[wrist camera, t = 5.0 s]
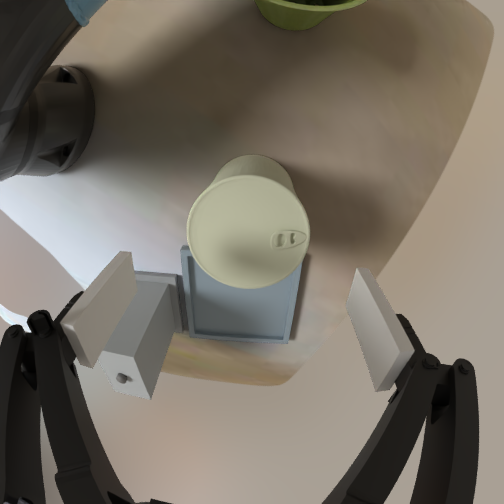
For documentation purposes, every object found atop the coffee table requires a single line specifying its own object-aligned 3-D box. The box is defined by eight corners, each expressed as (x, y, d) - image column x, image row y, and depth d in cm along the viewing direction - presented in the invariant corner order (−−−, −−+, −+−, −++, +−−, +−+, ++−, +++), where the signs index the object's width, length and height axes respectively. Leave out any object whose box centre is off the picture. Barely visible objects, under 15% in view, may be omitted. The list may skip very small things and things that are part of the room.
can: (292, 233, 32) (307, 292, 21) (214, 233, 32) (192, 293, 22) (294, 154, 28) (315, 175, 17) (208, 156, 28) (176, 179, 17)
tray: (182, 245, 33) (180, 249, 32) (301, 252, 33) (302, 256, 32) (191, 331, 40) (189, 337, 39) (287, 338, 40) (287, 343, 39)
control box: (129, 270, 35) (79, 343, 22) (176, 274, 35) (138, 356, 22) (142, 324, 40) (108, 397, 27) (183, 329, 40) (159, 409, 27)
